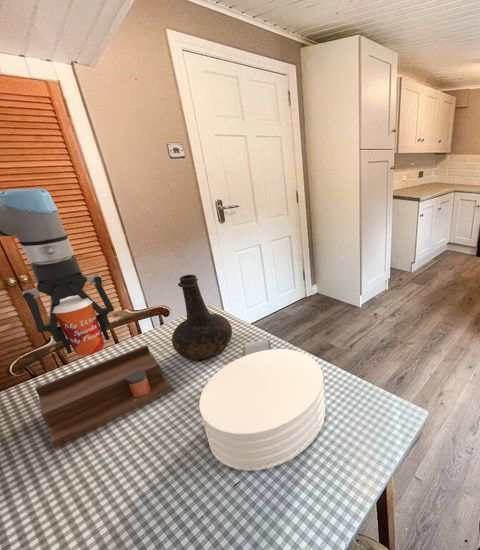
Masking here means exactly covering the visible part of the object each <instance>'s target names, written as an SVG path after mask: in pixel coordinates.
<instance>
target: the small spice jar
mask: <svg viewBox="0 0 480 550" xmlns="http://www.w3.org/2000/svg"><path fill="white" fill-rule="evenodd" d="M126 380H127V382H128V384H129V386H130V389H131V392H132V394H133V396H134V397H140V396H143V395H145V394H147V393H148V392H149V391H150V389H151V388H150V385H149V382H148V379H147V375H146V372H145V371H136V372H133V373H131V374H130V375H129V376H128V377H127V378H126Z"/></svg>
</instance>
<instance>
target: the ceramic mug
mask: <svg viewBox="0 0 480 550" xmlns="http://www.w3.org/2000/svg"><path fill="white" fill-rule="evenodd" d="M265 350H272V347H271V341H270V339H269V338H265V339H262V340H257V341H254V342H253V341H252V342H249V343H246V344H244V345H243V346H242V357H244V356H246V355H249V354H252V353H255V352H260V351H265Z"/></svg>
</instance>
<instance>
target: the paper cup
mask: <svg viewBox="0 0 480 550" xmlns="http://www.w3.org/2000/svg"><path fill="white" fill-rule="evenodd" d="M90 298H92V297H91V296H90ZM92 300H94V301H95V299H94V298H92ZM92 302H93V301H91V300H90V299H88V298H85V299H82V298H81V297H80V296H78V295H76V296H69V297H67V298H64V299H60V304H59V305H58V306H56V307H54V309H53V310H54V311H52V313H55V315H56V317H57V319H58V324H59V326H61V328H62V330H63V332H64V334H65V336H66V339H67V341H68V343H69V345H70V347H71V348H72V350H73V351H74V352H75V354H76V355H77V356H81V357H83V356H88V355H92V354H95V353H97V352H100V351H101V350H102V349H103V348H104V347H105V341H104V338H103V337H104V336H103V333H102V330H101V327H100V325H99V322H98V320H97V317H96V315H97V313H96V311H95V310H94V309H93V306H92Z"/></svg>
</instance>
